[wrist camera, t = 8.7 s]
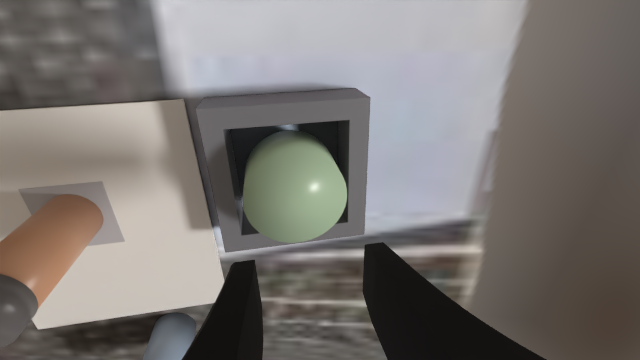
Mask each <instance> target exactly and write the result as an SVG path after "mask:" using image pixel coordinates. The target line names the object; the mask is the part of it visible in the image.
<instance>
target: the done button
mask: <svg viewBox="0 0 640 360" xmlns="http://www.w3.org/2000/svg"><path fill="white" fill-rule="evenodd" d="M346 201H347V187H346V183H345V180H344V178H343V176H342V174H341V172H340V170H339V169H338V167H337V165H336V163H335V161H334V159H333V158H332V156H331V154H330V152H329V150H328V149H327V147H326V146H325V145H324V144H323V143H322V142H321V141H320V140H319V139H317V138H316V137H314V136H312V135H311V134H308V133H305V132H301V131H295V130H287V131H281V132H277V133H274V134H272V135H269V136H267V137H266V138H264V139H263V140H261V141H260V142H259V143H258V144H257V145H256V146H255V147H254V149H253V150H252V151H251V153H250V155H249V157H248V160H247V163H246V168H245V179H244V189H243V208H244V212H245V215H246V217H247V219H248V221H249V222H250V224H251V225H252V226H253V227H254V228H255V229H256V230H257V231H258V232H259V233H261V234H262V235H264V236H266V237H268V238H270V239H273V240H276V241H280V242H286V243H296V242H304V241H308V240H311V239H314V238H316V237H318V236H320V235H322V234H324V233H325V232H327V231H328V230H329V229H330V228H331V227H333V226H334V225H335V223H336V222H337V221H338V220H339V218H340V217H341V215H342V213H343V211H344V208H345V205H346Z"/></svg>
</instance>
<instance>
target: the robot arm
mask: <svg viewBox="0 0 640 360" xmlns="http://www.w3.org/2000/svg"><path fill="white" fill-rule="evenodd" d="M363 294H364V298H365V301H366V305H367V308H368V311H369V315H370V318H371V321H372V324H373V326H374V328H375V331H376V333H377V336H378V338H379V340H380V343H381V345H382V347H383V350H384V352H385V354H386V357H387V359H388V360H546V359H544V358H542V357H540V356H539V355H537V354H535V353H533V352H532V351H530V350H528V349H526V348H525V347H523V346H521V345H519V344H518V343H516V342H514V341H513V340H511V339H509V338H508V337H506V336H504V335H503V334H501V333H500V332H498V331H497V330H495V329H493V328H492V327H490V326H489V325H487V324H486V323H484V322H483V321H481V320H480V319H478V318H477V317H475V316H474V315H472V314H471V313H469V312H468V311H466V310H465V309H464V308H462V307H461V306H460V305H458V304H457V303H456V302H454V301H453V300H451V299H450V298H449V297H447V296H446V295H445V294H443V293H442V292H441V291H440V290H438V289H437V288H436V287H435V286H433V285H432V284H431V283H430V282H429V281H427V280H426V279H425V278H424V277H422V276H421V275H420V274H419V273H418V272H416V271H415V270H414V269H413V268H412V267H411V266H410V265H408V264H407V263H406V262H405V261H404V260H403V259H401V258H400V257H399V256H398V255H397V254H396V253H395V252H394V251H392V250H391V249H390V248H389V247H388V246H387V245H385V244H384V243H383V242H382V243H374V244H367V245H365V252H364V274H363ZM262 354H263V319H262V304H261V298H260V291H259V285H258V279H257V272H256V266H255V260H249V261H242V262H235V263H233V264H232V266H231V267H230V270H229V273H228V275H227V277H226V280H225V282H224V284H223V286H222V288H221V291H220V293H219V295H218V297H217V299H216V301H215V303H214V305H213V306H212V308H211V310H210V312H209V314H208V316H207V318H206V320H205V321H204V323H203V325H202V327H201V328H200V330H199V332H198V333H197V335H196V337H195V338H194V340H193V342H192V343H191V345H190V347H189V348H188V350H187V352H186V353H185V355H184V357H183V358H182V360H262Z"/></svg>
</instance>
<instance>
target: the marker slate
mask: <svg viewBox="0 0 640 360" xmlns="http://www.w3.org/2000/svg"><path fill="white" fill-rule="evenodd" d="M195 331H196V323H195V321H194V319H193V318H191V317H190V316H188V315H186V314H182V313H169V314H166V315H163V316H161V317H160V318H159V319H158V320H157V321H156V323H155V325H154V328H153V331H152V334H151V337H150V339H149V342H148V345H147V348H146V351H145V354H144V357H143V359H142V360H182V358H183V357H184V355H185V353H186V352H187V350H188V348H189V347H190V345H191V343H192V342H193V340H194V336H195Z"/></svg>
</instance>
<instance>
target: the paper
mask: <svg viewBox="0 0 640 360" xmlns="http://www.w3.org/2000/svg"><path fill="white" fill-rule="evenodd" d="M63 194H73V195H79V196H82V197H85V198H87V199H89V200H90V201H92V202H93V203H95V204H96V205H97V206H98V207H99V209H100V210H101V212H102V215H103V225H102V227H101V229H100V230H99V231H98V232H97V234H96V235H95V236H94V238H93V239H92V240H91V241H90V243H89V244H88V245H87V247H86V248H85V249H84V250H83V252H82V253H81V254H80V256H79V257H78V258H77V259H76V261H75V262H74V263H73V265H72V266H71V267H70V268H69V270H68V271H67V272H66V274H65V275H64V276H63V277H62V279H61V280H60V281H59V282H58V284H57V285H56V286H55V288H54V289H53V290H52V291H51V293H50V294H49V295H48V297H47V298H46V299H45V300H44V302H43V303H42V304H41V306H40V307H39V308H38V310H37V312H36V314H35V316H34V317H33V318H32V321H33V322H34V324H35V326H36V327H37V329H45V328H51V327H58V326H65V325H71V324H78V323H84V322H91V321H97V320H104V319H111V318H117V317H124V316H130V315H137V314H143V313H150V312H157V311H163V310H170V309H176V308H183V307H189V306H196V305H202V304H209V303H215V301H216V299H217V297H218V295H219V293H220V291H221V288H222V286H223V284H224V277H223V273H222V268H221V264H220V259H219V255H218V250H217V246H216V241H215V237H214V232H213V228H212V223H211V219H210V214H209V210H208V205H207V201H206V196H205V192H204V187H203V183H202V178H201V174H200V169H199V165H198V160H197V156H196V151H195V147H194V142H193V138H192V133H191V129H190V124H189V120H188V115H187V111H186V106H185V102H184V99H175V100H159V101H143V102H127V103H111V104H95V105H79V106H63V107H47V108H30V109H14V110H0V242H1V241H2V240H3V239H4V238H5V237H7V236H8V235H9V234H10V233H11V232H13V231H14V230H15V229H16V228H17V227H19V226H20V225H21V224H22V223H23V222H25V221H26V220H27V219H28V218H29V217H31V216H32V215H33V214H34V213H35V212H36V211H38V210H39V209H40V208H41V207H42V206H44V205H45V204H46V203H47V202H48V201H50V200H51V199H52V198H54V197H56V196H59V195H63Z"/></svg>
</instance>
